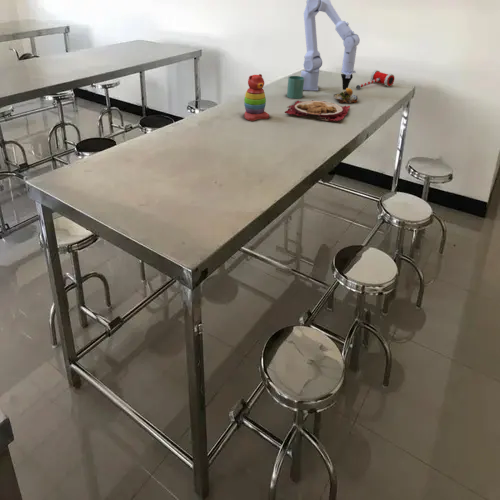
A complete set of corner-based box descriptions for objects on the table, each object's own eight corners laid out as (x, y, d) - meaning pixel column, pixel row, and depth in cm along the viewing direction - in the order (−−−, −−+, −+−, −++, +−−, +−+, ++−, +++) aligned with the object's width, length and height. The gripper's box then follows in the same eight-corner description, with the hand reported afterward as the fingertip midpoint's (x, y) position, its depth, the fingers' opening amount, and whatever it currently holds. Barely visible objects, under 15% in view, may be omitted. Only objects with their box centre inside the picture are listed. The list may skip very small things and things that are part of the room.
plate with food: (341, 124, 210) (342, 116, 208) (284, 114, 216) (284, 107, 214) (349, 109, 229) (351, 102, 227) (297, 101, 235) (298, 94, 233)
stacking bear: (249, 121, 208) (250, 79, 199) (238, 114, 216) (239, 73, 206) (271, 118, 213) (273, 76, 203) (260, 111, 220) (261, 71, 210)
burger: (341, 95, 246) (343, 80, 242) (361, 100, 240) (364, 85, 236) (328, 100, 239) (330, 84, 235) (348, 105, 232) (351, 89, 228)
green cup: (286, 98, 239) (288, 79, 234) (287, 93, 246) (288, 75, 241) (302, 99, 239) (304, 80, 234) (302, 94, 245) (304, 76, 240)
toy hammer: (365, 92, 253) (367, 79, 249) (349, 86, 261) (350, 74, 257) (393, 85, 265) (395, 73, 261) (376, 81, 273) (378, 69, 269)
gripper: (358, 65, 231) (354, 94, 238) (355, 58, 243) (351, 86, 250) (343, 64, 231) (339, 93, 239) (341, 57, 243) (338, 85, 251)
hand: (344, 89), depth 245 cm, fingers closed
